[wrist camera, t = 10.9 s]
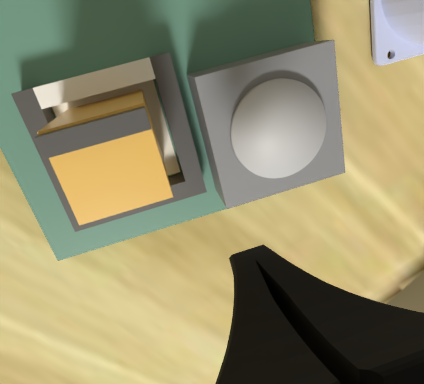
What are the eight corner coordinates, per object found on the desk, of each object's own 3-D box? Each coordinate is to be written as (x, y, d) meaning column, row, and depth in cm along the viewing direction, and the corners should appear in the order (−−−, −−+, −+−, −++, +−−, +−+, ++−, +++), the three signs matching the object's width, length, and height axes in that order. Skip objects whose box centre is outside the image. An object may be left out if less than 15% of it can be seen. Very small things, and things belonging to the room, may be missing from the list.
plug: (142, 89, 18) (143, 104, 12) (163, 158, 20) (174, 202, 14) (67, 109, 18) (32, 135, 12) (95, 178, 20) (76, 232, 14)
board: (288, -119, 17) (334, -172, 13) (321, 172, 24) (359, 196, 20) (-83, -37, 16) (-160, -69, 12) (61, 252, 22) (44, 296, 18)
